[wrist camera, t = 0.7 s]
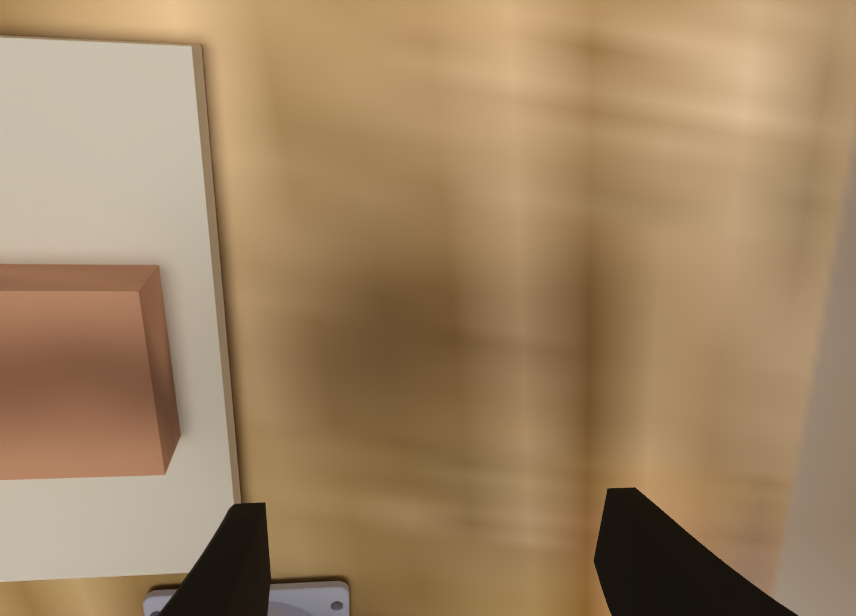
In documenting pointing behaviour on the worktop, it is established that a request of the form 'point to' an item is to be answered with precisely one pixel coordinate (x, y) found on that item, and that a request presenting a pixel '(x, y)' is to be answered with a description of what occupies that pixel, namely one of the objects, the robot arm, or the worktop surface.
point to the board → (120, 245)
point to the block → (84, 372)
